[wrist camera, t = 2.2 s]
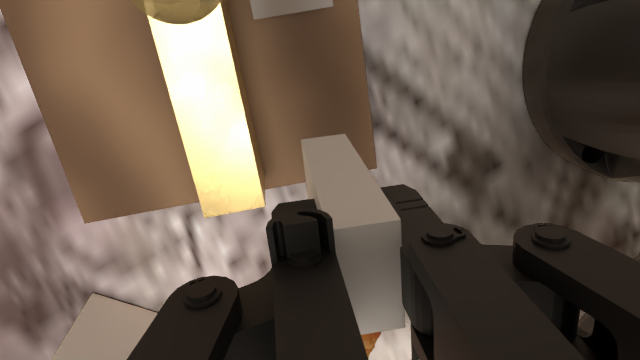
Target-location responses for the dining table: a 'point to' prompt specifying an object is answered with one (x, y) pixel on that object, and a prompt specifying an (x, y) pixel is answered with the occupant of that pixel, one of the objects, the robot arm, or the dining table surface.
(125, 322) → the milk
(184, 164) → the board
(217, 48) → the latch bar
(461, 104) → the dining table surface
